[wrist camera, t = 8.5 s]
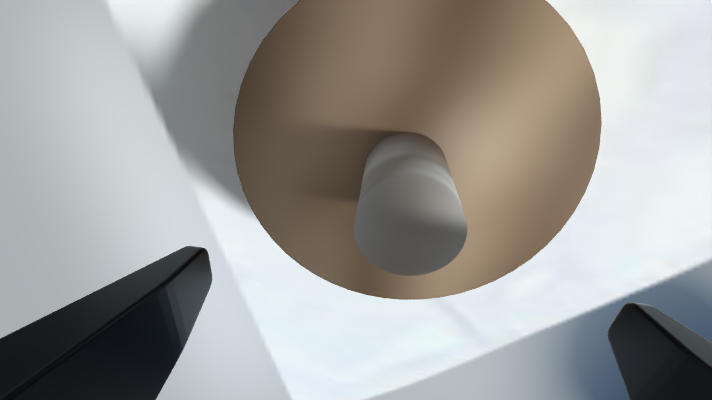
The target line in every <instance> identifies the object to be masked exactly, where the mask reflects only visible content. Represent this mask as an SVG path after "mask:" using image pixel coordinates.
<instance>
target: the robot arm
mask: <svg viewBox="0 0 712 400" xmlns="http://www.w3.org/2000/svg"><path fill="white" fill-rule="evenodd" d="M211 283H212V272H211V267H210V261H209V255H208V252H207V250H206V249H205V248H201V247H193V246H187V247H184V248H182V249H180V250H178V251H176V252H174V253H172V254H170V255H168V256H166V257H164V258H162V259H160V260H158V261H156V262H153V263H152V264H149V265H147V266H146V267H144V268H141V269H139V270H137V271H135V272H133V273H132V274H129V275H127V276H126V277H123V278H121V279H119V280H117V281H115V282H114V283H112V284H109V285H107V286H105V287H103V288H101V289H100V290H97V291H95V292H93V293H91V294H89V295H87V296H85V297H83V298H81V299H79V300H77V301H75V302H73V303H71V304H69V305H67V306H65V307H63V308H61V309H59V310H57V311H55V312H53V313H51V314H49V315H47V316H45V317H43V318H41V319H39V320H37V321H35V322H33V323H31V324H29V325H27V326H25V327H23V328H21V329H19V330H17V331H15V332H13V333H11V334H9V335H7V336H5V337H3V338H1V339H0V400H155V399H156V398H157V396H158V394H159V393H160V391H161V389H162V387H163V385H164V383H165V382H166V380H167V378H168V376H169V375H170V373H171V371H172V369H173V368H174V366H175V364H176V362H177V360H178V358H179V357H180V355H181V353H182V351H183V349H184V347H185V344H186V342H187V340H188V338H189V335H190V333H191V331H192V329H193V326H194V324H195V321H196V319H197V317H198V315H199V312H200V310H201V308H202V305H203V303H204V300H205V298H206V296H207V294H208V291H209V289H210V286H211ZM608 339H609V342H610V345H611V348H612V351H613V354H614V357H615V359H616V362H617V365H618V368H619V371H620V373H621V376H622V379H623V382H624V385H625V387H626V390H627V393H628V396H629V398H630V400H712V343H711V342H710V341H708V340H707V339H705V338H703V337H702V336H700V335H699V334H697V333H695V332H694V331H692V330H691V329H689V328H687V327H686V326H684V325H683V324H681V323H679V322H678V321H676V320H675V319H673V318H671V317H670V316H668V315H667V314H665V313H663V312H662V311H660V310H659V309H657V308H656V307H654V306H651V305H647V304H640V303H633V302H632V303H627V304H625V305H624V306H623V307H622V309H621V310H620V312H619V313H618V315H617V317H616V318H615V320H614V321H613V323H612V324H611V326H610V327H609V330H608Z"/></svg>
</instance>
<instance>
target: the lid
mask: <svg viewBox="0 0 712 400" xmlns="http://www.w3.org/2000/svg"><path fill="white" fill-rule="evenodd" d="M600 133H601V109H600V97H599V93H598V88H597V84H596V80H595V75H594V72H593V69H592V67H591V65H590V62H589V60H588V57H587V55H586V52H585V50H584V48H583V46H582V45H581V43H580V42H579V40H578V38H577V37H576V35H575V34H574V32H573V30H572V29H571V27H570V26H569V25H568V23H567V22H566V21H565V20H564V19H563V18H562V17H561V16H560V15H559V13H558V12H557V11H556V10H555V9H554V8H553V7H552V6H551V5H550V4H549V3H548V2H547V1H545V0H300V1H299V2H298V3H297V4H296V5H294V6H293V7H292V8H291V9H290V10H289V11H288V12H287V13H286V14H285V15H284V16H283V17H282V18H281V19H280V20H279V21H278V22H277V23H276V25H275V26H274V27H273V28H272V30H271V31H270V32H269V33H268V35H267V36H266V37H265V38H264V40H263V41H262V43H261V45H260V46H259V48H258V50H257V52H256V53H255V55H254V57H253V58H252V60H251V62H250V64H249V67H248V69H247V72H246V74H245V77H244V79H243V82H242V84H241V88H240V92H239V96H238V100H237V104H236V109H235V118H234V128H233V134H234V154H235V160H236V165H237V171H238V175H239V178H240V181H241V184H242V188H243V191H244V193H245V195H246V198H247V200H248V202H249V204H250V206H251V209H252V210H253V212H254V214H255V215H256V217H257V219H258V220H259V222H260V224H261V225H262V226H263V228H264V229H265V230H266V232H267V233H268V234H269V235H270V237H271V238H272V239H273V240H274V241H275V242H276V243H277V244H278V246H279V247H280V248H281V249H282V250H283V251H284V252H285V253H286V254H288V255H289V256H290V257H291V258H293V259H294V260H295V261H296V262H297V263H299V264H300V265H301V266H303V267H304V268H306V269H308V270H309V271H311V272H312V273H314V274H315V275H317V276H319V277H321V278H323V279H325V280H327V281H329V282H331V283H333V284H335V285H338V286H340V287H343V288H346V289H348V290H351V291H355V292H359V293H362V294H366V295H371V296H376V297H382V298H391V299H429V298H438V297H444V296H449V295H454V294H459V293H462V292H465V291H469V290H472V289H475V288H478V287H481V286H483V285H485V284H488V283H490V282H493V281H495V280H497V279H499V278H501V277H503V276H504V275H506V274H508V273H510V272H512V271H514V270H515V269H517V268H518V267H519V266H521V265H522V264H524V263H525V262H527V261H528V260H530V259H531V258H532V257H533V256H535V255H536V254H537V253H538V252H539V251H540V250H542V249H543V248H544V247H545V246H546V245H547V244H548V243H549V242H550V241H551V240H552V239H553V238H554V237H555V236H556V235H557V233H558V232H559V231H560V230H561V229H562V228H563V226H564V225H565V224H566V222H567V221H568V220H569V218H570V217H571V215H572V214H573V213H574V211H575V209H576V208H577V206H578V204H579V202H580V200H581V199H582V197H583V195H584V193H585V191H586V189H587V186H588V184H589V181H590V179H591V176H592V173H593V171H594V167H595V163H596V159H597V155H598V150H599V144H600Z"/></svg>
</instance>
